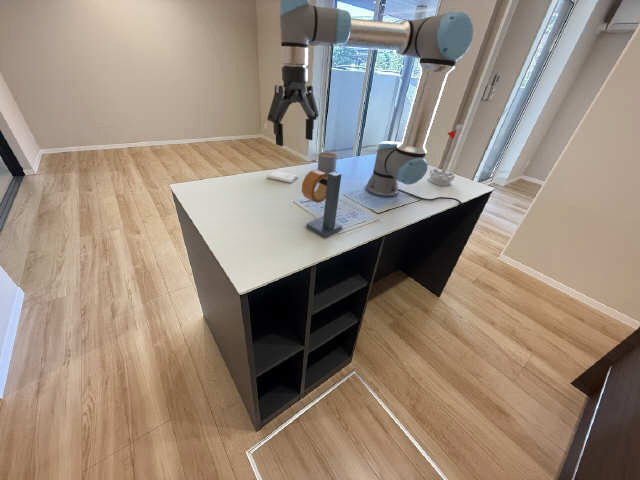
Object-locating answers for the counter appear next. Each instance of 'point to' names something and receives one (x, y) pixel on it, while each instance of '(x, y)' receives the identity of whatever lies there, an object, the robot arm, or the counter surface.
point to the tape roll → (310, 185)
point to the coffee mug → (327, 162)
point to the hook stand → (328, 207)
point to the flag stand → (443, 176)
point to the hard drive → (282, 176)
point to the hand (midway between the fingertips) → (295, 142)
